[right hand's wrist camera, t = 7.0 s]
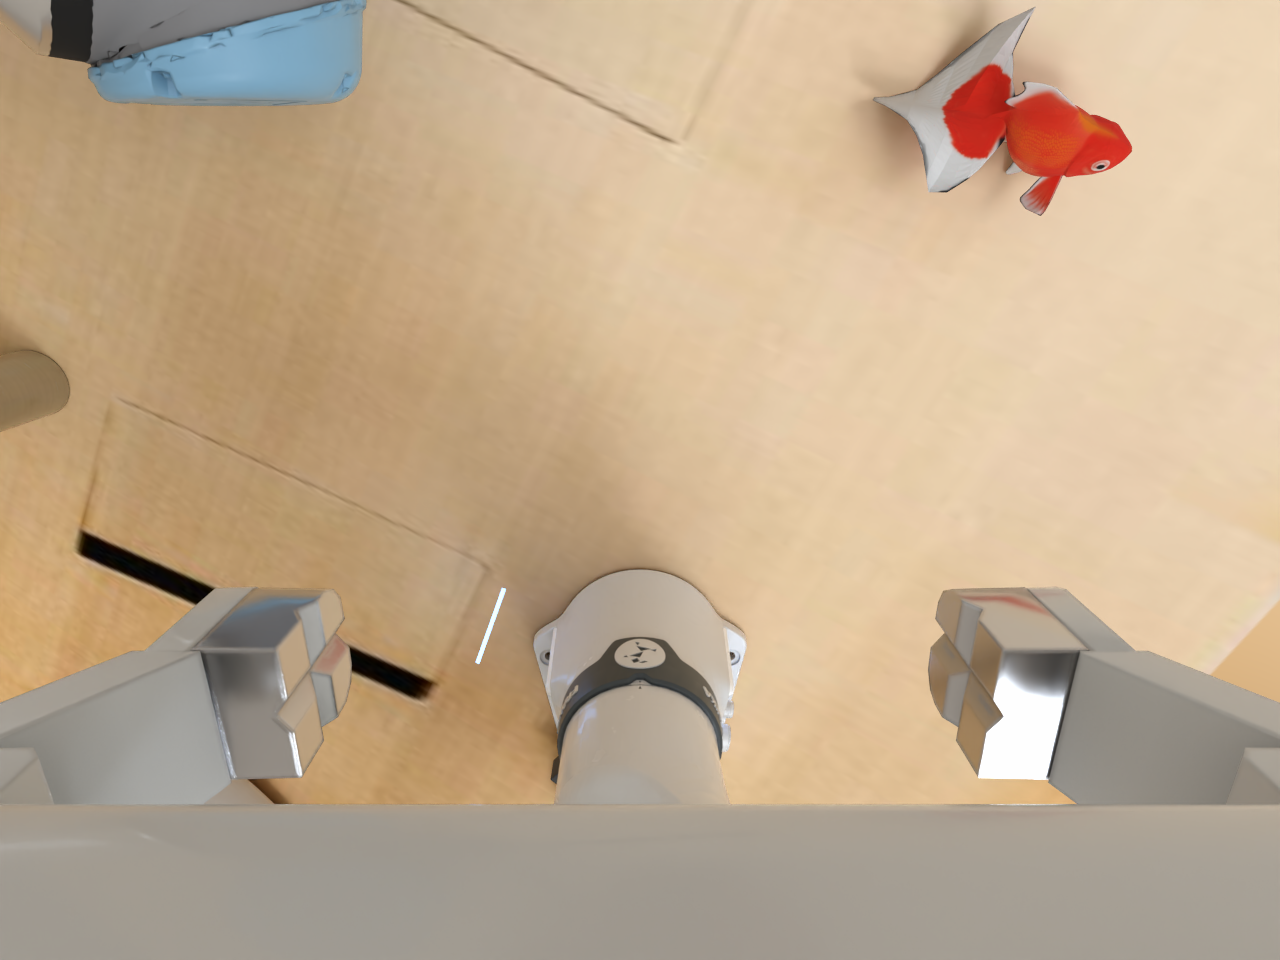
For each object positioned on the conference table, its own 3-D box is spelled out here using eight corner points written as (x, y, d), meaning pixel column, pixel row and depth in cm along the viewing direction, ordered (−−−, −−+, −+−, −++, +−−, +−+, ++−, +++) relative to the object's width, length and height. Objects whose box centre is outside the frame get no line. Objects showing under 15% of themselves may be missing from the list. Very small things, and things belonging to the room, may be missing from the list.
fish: (1032, 289, 50) (1092, 212, 41) (836, 185, 54) (849, 93, 45) (1119, 165, 51) (1199, 59, 41) (918, 70, 55) (949, -46, 45)
